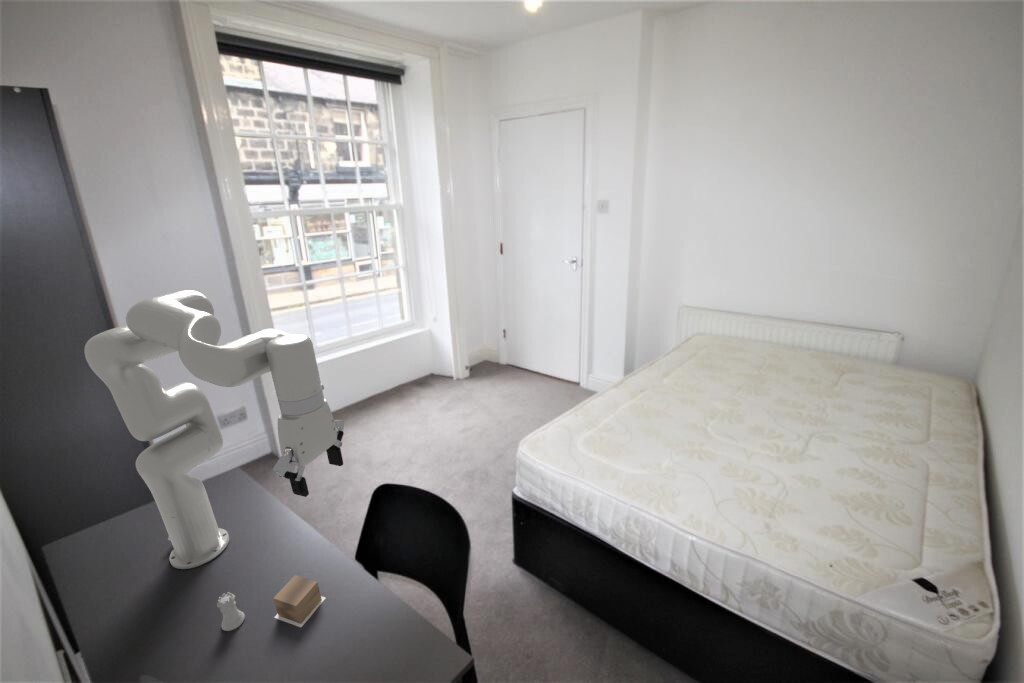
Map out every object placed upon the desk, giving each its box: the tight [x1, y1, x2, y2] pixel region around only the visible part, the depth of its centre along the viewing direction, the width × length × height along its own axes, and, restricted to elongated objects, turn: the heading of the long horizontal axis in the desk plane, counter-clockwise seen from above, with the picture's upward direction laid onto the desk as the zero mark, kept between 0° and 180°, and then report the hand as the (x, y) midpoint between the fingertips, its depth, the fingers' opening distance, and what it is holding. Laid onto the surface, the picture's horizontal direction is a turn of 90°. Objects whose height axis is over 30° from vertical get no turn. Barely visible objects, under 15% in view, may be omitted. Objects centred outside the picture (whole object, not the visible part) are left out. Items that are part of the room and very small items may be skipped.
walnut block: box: [272, 574, 322, 624], centre depth 95 cm, size 6×6×5 cm
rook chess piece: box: [216, 591, 246, 632], centre depth 93 cm, size 4×4×8 cm
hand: (319, 478), depth 89 cm, fingers open, 9 cm apart
